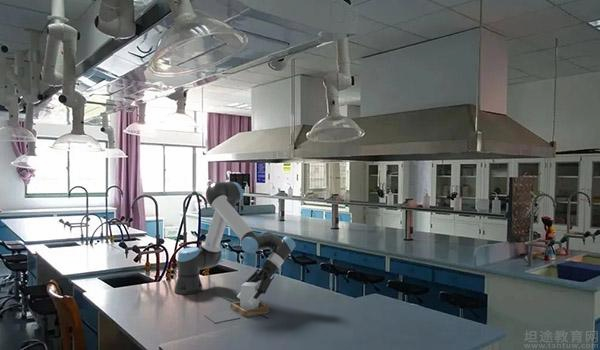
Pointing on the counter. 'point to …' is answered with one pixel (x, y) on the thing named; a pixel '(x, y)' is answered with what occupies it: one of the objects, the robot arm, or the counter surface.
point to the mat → (221, 316)
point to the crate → (247, 313)
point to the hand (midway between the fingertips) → (244, 300)
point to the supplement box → (248, 295)
